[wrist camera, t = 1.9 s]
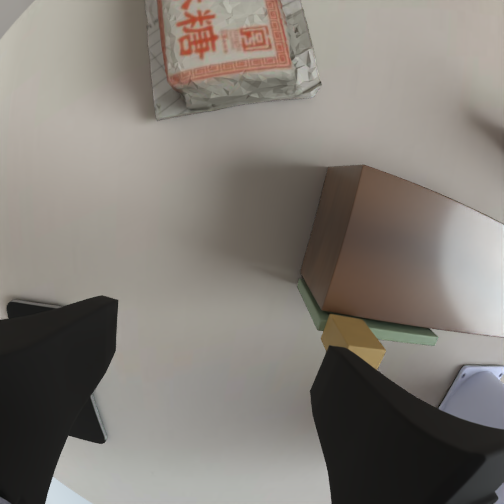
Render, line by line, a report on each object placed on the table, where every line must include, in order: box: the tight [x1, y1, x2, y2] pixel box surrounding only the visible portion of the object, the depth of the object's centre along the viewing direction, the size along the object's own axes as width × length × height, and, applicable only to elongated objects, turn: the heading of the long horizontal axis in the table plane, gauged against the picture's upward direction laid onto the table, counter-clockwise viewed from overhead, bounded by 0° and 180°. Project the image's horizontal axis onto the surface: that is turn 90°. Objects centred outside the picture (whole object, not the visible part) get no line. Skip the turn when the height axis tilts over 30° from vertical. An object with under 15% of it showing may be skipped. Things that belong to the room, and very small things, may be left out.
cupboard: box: [300, 165, 504, 338], centre depth 17 cm, size 7×15×6 cm, turn 77°
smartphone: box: [7, 300, 107, 444], centre depth 22 cm, size 7×1×15 cm
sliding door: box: [297, 278, 438, 370], centre depth 16 cm, size 1×8×9 cm, turn 76°
